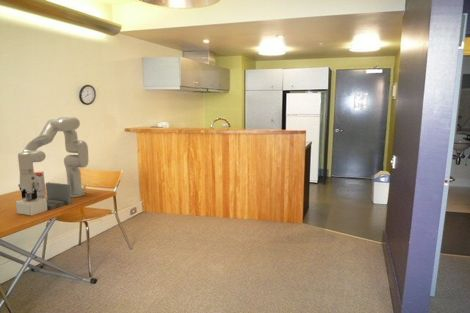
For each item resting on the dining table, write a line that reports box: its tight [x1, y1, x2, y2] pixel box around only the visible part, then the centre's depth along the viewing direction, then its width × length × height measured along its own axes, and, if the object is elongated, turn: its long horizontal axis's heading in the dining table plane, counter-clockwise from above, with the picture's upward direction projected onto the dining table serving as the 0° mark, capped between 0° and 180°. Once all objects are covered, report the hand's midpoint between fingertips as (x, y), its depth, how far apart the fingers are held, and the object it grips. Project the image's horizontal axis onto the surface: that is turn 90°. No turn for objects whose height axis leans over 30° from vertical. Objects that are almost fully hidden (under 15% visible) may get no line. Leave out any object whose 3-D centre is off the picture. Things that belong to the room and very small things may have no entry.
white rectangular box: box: [15, 192, 48, 216], centre depth 209 cm, size 12×13×13 cm
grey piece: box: [45, 182, 72, 211], centre depth 222 cm, size 15×20×14 cm
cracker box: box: [21, 170, 47, 200], centre depth 234 cm, size 14×6×21 cm, turn 108°
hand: (29, 198), depth 207 cm, fingers open, 8 cm apart
